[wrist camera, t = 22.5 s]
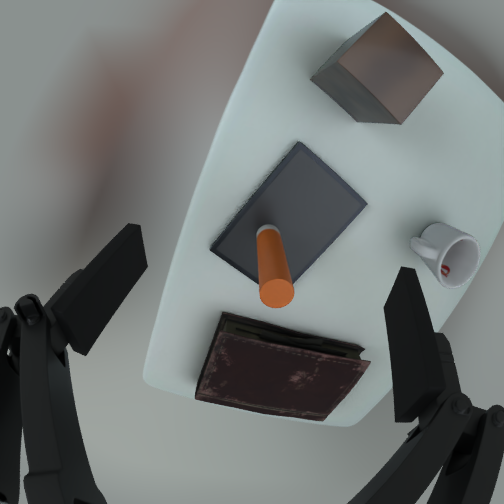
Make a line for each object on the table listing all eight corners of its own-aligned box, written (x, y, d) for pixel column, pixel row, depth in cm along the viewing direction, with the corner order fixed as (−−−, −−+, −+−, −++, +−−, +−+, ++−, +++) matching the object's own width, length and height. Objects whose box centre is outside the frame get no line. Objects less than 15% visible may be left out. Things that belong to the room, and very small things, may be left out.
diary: (317, 405, 55) (321, 424, 50) (196, 382, 52) (193, 403, 47) (365, 341, 48) (374, 361, 43) (224, 306, 44) (221, 327, 40)
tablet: (210, 247, 40) (209, 250, 39) (298, 141, 35) (300, 141, 34) (278, 294, 44) (278, 298, 43) (365, 201, 38) (368, 204, 37)
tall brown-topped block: (309, 79, 32) (336, 61, 21) (348, 39, 29) (386, 11, 18) (357, 122, 34) (401, 125, 23) (393, 82, 31) (444, 73, 20)
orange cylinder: (251, 237, 39) (252, 296, 26) (266, 219, 38) (274, 272, 25) (269, 250, 40) (278, 313, 27) (284, 233, 39) (301, 291, 26)
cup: (389, 257, 41) (413, 284, 34) (406, 206, 38) (435, 225, 31) (441, 267, 42) (467, 291, 35) (458, 221, 39) (488, 241, 32)
